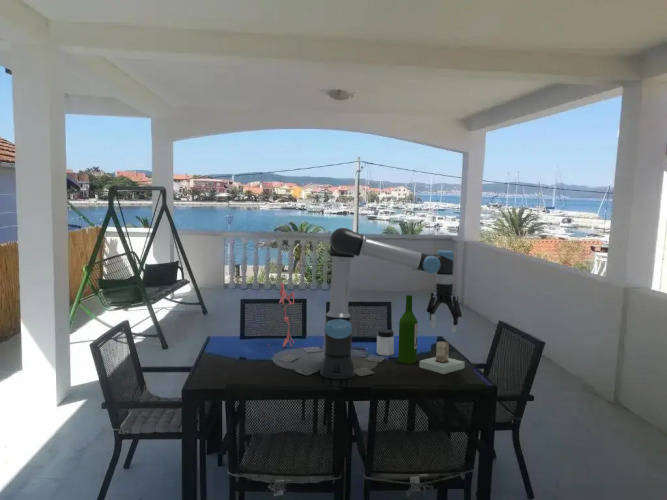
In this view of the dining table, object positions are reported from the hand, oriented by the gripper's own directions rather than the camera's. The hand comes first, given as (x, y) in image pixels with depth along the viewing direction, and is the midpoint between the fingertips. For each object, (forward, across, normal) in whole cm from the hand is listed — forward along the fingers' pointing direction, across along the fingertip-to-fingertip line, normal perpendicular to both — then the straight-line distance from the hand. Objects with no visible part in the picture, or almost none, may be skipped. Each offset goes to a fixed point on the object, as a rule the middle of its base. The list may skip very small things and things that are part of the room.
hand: (443, 329), depth 229 cm
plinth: (+18, 0, 0) cm, 18 cm away
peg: (+18, 0, 0) cm, 18 cm away
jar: (+18, +34, +3) cm, 39 cm away
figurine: (+18, +80, +37) cm, 90 cm away
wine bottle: (+18, +17, +5) cm, 25 cm away
